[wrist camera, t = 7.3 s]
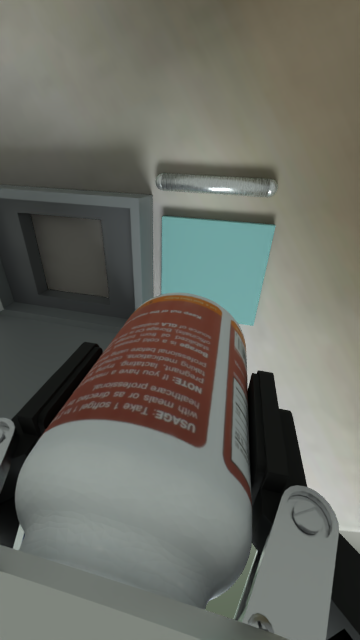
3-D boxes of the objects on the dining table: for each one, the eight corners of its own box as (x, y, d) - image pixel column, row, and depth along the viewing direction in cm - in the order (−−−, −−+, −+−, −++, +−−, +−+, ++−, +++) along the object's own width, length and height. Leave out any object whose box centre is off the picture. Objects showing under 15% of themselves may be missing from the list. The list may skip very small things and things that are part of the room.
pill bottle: (109, 340, 14) (-137, 655, 5) (175, 260, 11) (-151, 693, 2) (193, 402, 16) (118, 757, 6) (274, 345, 12) (374, 887, 3)
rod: (278, 179, 19) (280, 179, 18) (274, 197, 19) (276, 198, 18) (158, 172, 20) (153, 172, 19) (157, 189, 21) (153, 190, 20)
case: (152, 194, 21) (7, 230, 8) (153, 327, 27) (74, 464, 15) (-18, 183, 24) (-332, 196, 11) (20, 306, 30) (-147, 407, 17)
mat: (274, 224, 20) (275, 225, 20) (253, 322, 25) (253, 325, 24) (163, 215, 22) (161, 216, 21) (162, 309, 26) (161, 312, 26)
